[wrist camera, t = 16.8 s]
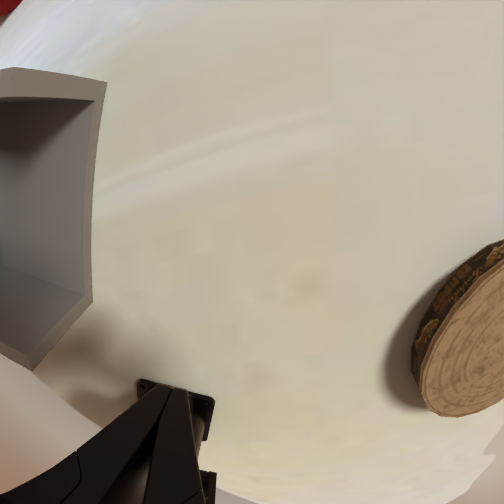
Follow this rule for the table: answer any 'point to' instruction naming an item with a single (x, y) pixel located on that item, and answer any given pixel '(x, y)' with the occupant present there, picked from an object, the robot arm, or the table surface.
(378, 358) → the table surface
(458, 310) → the wood slice coaster
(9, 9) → the paper cup
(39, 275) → the housing
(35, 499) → the robot arm
